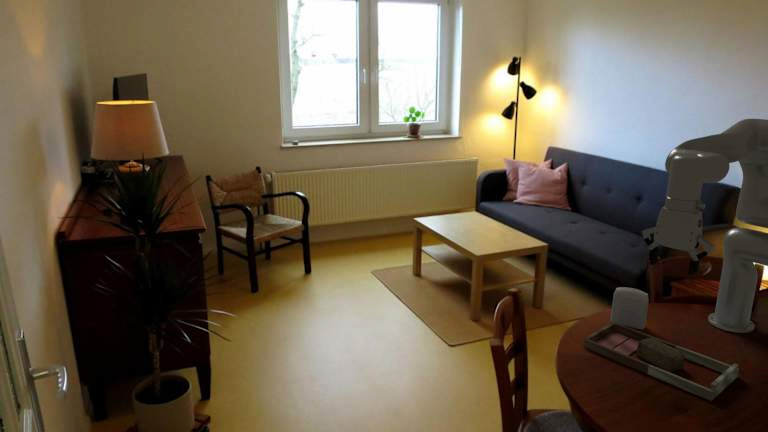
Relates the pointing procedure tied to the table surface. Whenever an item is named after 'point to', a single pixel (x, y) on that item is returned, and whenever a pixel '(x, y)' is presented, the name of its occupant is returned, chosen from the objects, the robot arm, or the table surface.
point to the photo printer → (629, 307)
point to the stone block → (660, 354)
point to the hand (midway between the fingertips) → (672, 268)
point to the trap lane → (630, 346)
